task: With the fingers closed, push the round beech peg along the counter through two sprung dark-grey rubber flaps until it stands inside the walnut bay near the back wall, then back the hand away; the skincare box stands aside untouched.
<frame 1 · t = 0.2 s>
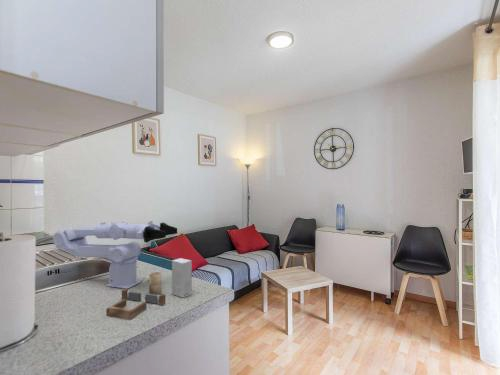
hand: (171, 232, 97), 21 cm above the countertop, tool horizontal, fingers open, 7 cm apart
skincare box: (181, 294, 93), on the countertop
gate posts: (143, 301, 87), on the countertop
bay: (129, 310, 81), on the countertop
flap left: (133, 295, 88), point 1 cm above the countertop, hinge at 0.0°
flap right: (152, 298, 86), point 1 cm above the countertop, hinge at 0.0°
peg: (155, 293, 93), on the countertop
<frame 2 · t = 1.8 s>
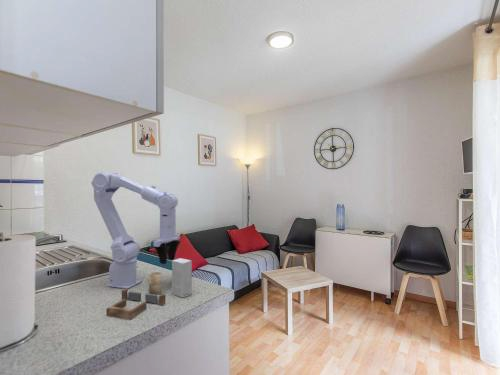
hand: (167, 261, 100), 9 cm above the countertop, tool pointing down, fingers open, 5 cm apart
nothing on the countertop moved.
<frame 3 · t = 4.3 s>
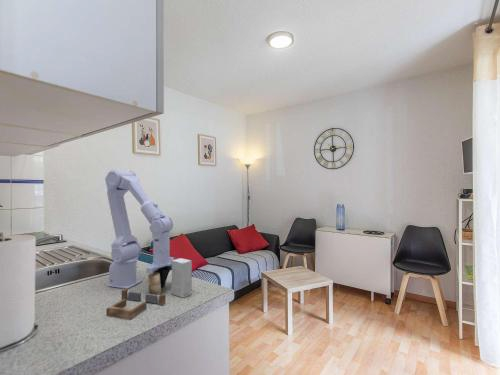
hand: (161, 287, 97), 1 cm above the countertop, tool pointing down, fingers closed
peg: (155, 293, 93), on the countertop, tilted 8°, touching gripper
everything else where it was.
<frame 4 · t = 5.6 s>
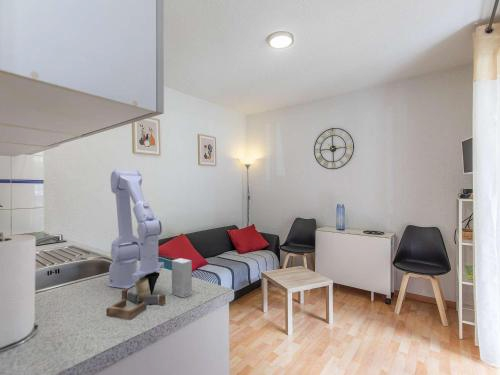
hand: (149, 294, 90), 1 cm above the countertop, tool pointing down, fingers closed, pressing on peg
flap left: (132, 296, 87), point 1 cm above the countertop, hinge at -20.2°, touching peg
flap right: (151, 299, 85), point 1 cm above the countertop, hinge at 20.5°, touching peg
peg: (145, 298, 88), point 1 cm above the countertop, tilted 16°, touching flap left, flap right, gripper
everything else where it was.
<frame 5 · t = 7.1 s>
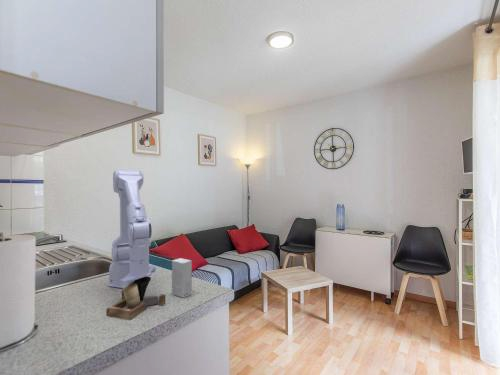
hand: (139, 301, 85), 1 cm above the countertop, tool pointing down, fingers closed
flap left: (129, 297, 87), point 1 cm above the countertop, hinge at -39.1°
flap right: (151, 300, 84), point 1 cm above the countertop, hinge at 41.7°
peg: (134, 305, 83), point 1 cm above the countertop, tilted 16°, touching gripper
everything else where it was.
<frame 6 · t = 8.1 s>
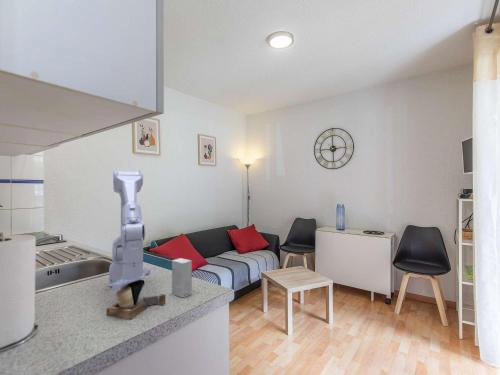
hand: (132, 305, 82), 1 cm above the countertop, tool pointing down, fingers closed
flap left: (129, 297, 87), point 1 cm above the countertop, hinge at -38.8°
flap right: (151, 300, 84), point 1 cm above the countertop, hinge at 40.3°
peg: (127, 310, 80), point 1 cm above the countertop, tilted 16°, touching bay, gripper
everything else where it was.
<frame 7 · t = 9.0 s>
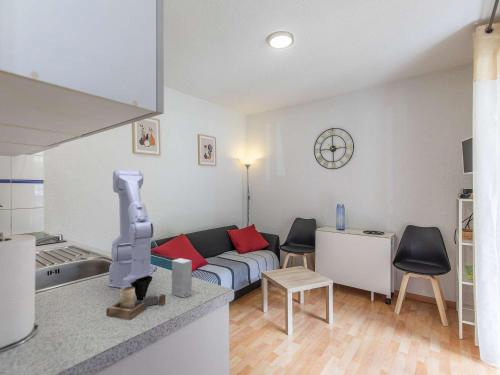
hand: (140, 299, 86), 1 cm above the countertop, tool pointing down, fingers closed
flap right: (151, 300, 84), point 1 cm above the countertop, hinge at 39.6°
peg: (127, 311, 80), on the countertop
everything else where it was.
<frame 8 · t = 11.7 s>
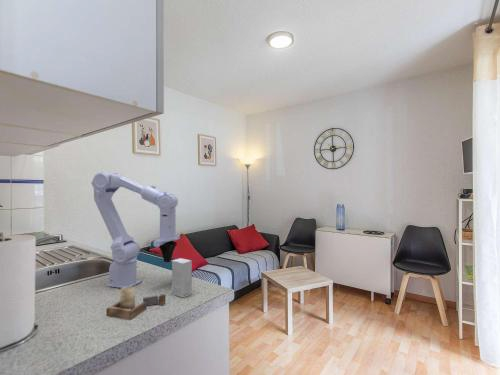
hand: (167, 261, 100), 9 cm above the countertop, tool pointing down, fingers closed
flap right: (151, 300, 84), point 1 cm above the countertop, hinge at 38.6°
everything else where it was.
at the end: peg inside the target area (0.8 cm from its centre), on the countertop; peg tilted 0°; the gripper is holding nothing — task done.
